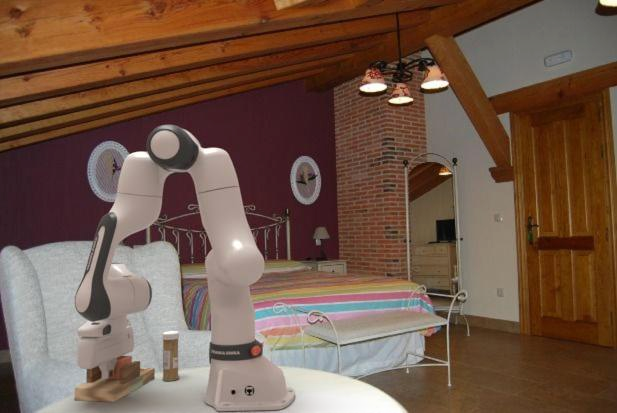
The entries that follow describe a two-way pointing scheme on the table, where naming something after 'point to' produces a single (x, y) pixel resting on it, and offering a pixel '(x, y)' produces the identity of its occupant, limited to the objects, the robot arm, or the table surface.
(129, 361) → the brick-red block
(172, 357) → the sprinkles bottle
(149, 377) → the wooden block stand
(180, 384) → the table surface
